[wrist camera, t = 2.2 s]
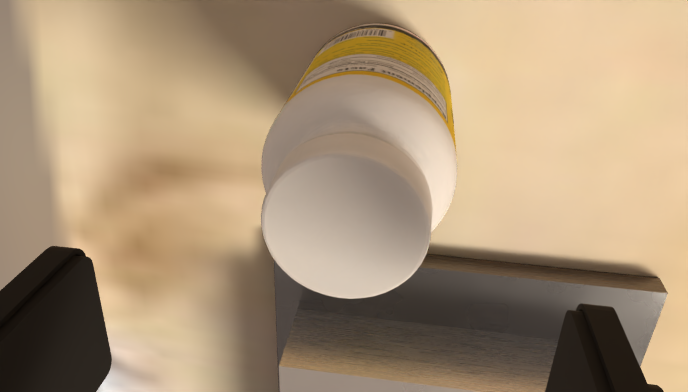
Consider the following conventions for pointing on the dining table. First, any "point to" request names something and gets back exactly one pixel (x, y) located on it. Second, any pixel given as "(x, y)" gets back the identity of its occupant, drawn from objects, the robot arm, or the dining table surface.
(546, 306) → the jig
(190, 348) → the dining table surface
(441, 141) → the supplement bottle
